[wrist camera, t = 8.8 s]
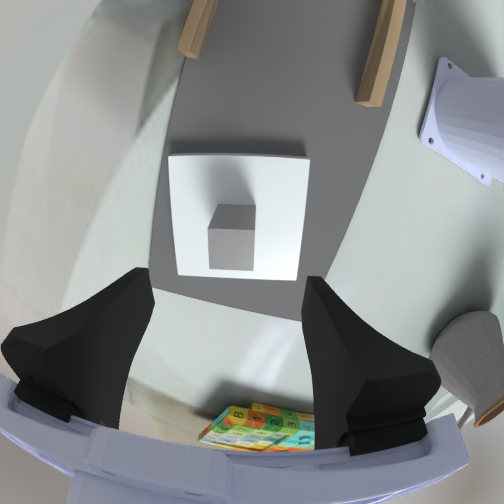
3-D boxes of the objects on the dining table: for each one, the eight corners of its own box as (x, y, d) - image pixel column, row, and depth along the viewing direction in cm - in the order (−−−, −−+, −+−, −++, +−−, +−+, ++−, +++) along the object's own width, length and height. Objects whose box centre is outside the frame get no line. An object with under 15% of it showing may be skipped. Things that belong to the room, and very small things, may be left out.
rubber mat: (413, 4, 11) (415, 3, 10) (302, 319, 24) (303, 322, 24) (232, -55, 9) (231, -57, 9) (149, 283, 23) (148, 286, 23)
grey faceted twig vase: (457, 291, 23) (526, 395, 10) (499, 305, 24) (552, 383, 11) (364, 404, 33) (383, 492, 20) (415, 402, 34) (438, 474, 21)
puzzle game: (308, 462, 36) (197, 445, 32) (306, 440, 40) (200, 420, 36) (354, 438, 31) (227, 420, 27) (349, 413, 35) (230, 388, 31)
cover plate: (306, 156, 17) (324, 173, 13) (294, 271, 22) (302, 315, 17) (173, 153, 17) (144, 169, 13) (181, 266, 22) (163, 308, 17)
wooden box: (391, -5, 11) (409, -18, 8) (363, 106, 16) (380, 106, 13) (232, -53, 9) (228, -72, 7) (189, 58, 14) (176, 49, 12)
